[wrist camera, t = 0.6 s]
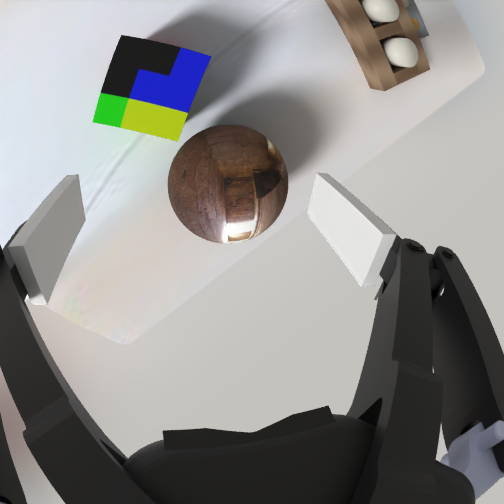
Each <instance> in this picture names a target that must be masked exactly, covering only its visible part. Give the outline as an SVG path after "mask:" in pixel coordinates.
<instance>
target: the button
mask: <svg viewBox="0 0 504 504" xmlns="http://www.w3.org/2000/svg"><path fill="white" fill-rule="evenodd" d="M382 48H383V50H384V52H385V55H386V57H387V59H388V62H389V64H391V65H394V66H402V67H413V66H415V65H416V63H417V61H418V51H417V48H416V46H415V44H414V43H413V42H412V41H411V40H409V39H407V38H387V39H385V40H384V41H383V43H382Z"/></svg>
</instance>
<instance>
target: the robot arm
mask: <svg viewBox="0 0 504 504" xmlns="http://www.w3.org/2000/svg"><path fill="white" fill-rule="evenodd" d="M307 215H308V217H309V218H310V219H311V220H312V222H313V223H314V224H315V226H316V227H317V228H318V229H319V231H320V232H321V233H322V235H323V236H324V237H325V239H326V240H327V241H328V242H329V244H330V245H331V246H332V248H333V249H334V250H335V252H336V253H337V254H338V256H339V257H340V258H341V260H342V261H343V263H344V264H345V265H346V267H347V268H348V269H349V271H350V272H351V273H352V275H353V276H354V278H355V279H356V281H357V282H358V283H359V285H360V286H361V287H368V286H374V285H375V283H376V281H377V279H378V277H379V275H380V276H381V277H382V279H383V283H382V285H381V287H380V289H379V291H378V293H377V295H376V297H375V300H377V298H378V297H379V298H378V303H377V309H376V314H375V319H374V323H373V329H372V333H371V337H370V342H369V346H368V350H367V354H366V358H365V362H364V366H363V370H362V373H361V377H360V380H359V383H358V387H357V390H356V394H355V397H354V400H353V403H352V406H351V408H350V410H349V412H348V413H347V415H346V416H345V415H335V414H332V413H331V410H330V408H329V406H325V407H321V408H317V409H314V410H310V411H306V412H302V413H297V414H293V415H291V416H289V417H286V418H285V419H282V420H280V421H278V422H276V423H274V424H272V425H270V426H267V427H265V428H263V429H261V430H258V431H256V432H251V433H248V432H247V433H246V432H234V431H225V430H216V429H208V428H203V429H189V430H167V431H163V437H164V440H160V441H157V442H154V443H152V444H149V445H147V446H145V447H143V448H141V449H140V450H138V451H137V452H136V453H134V454H133V455H131V456H130V457H129V458H127V457H126V456H125V455H124V454H123V453H122V452H121V451H120V450H119V449H118V448H117V447H116V446H115V445H114V444H113V443H112V442H111V441H110V440H109V438H108V437H107V436H106V435H105V434H104V432H103V431H102V430H101V429H100V427H99V426H98V425H97V424H96V423H95V421H94V420H93V419H92V418H91V416H90V415H89V413H88V412H87V410H86V409H85V408H84V407H83V405H82V404H81V402H80V401H79V399H78V398H77V397H76V395H75V394H74V392H73V390H72V389H71V387H70V386H69V384H68V383H67V381H66V380H65V378H64V377H63V375H62V373H61V371H60V370H59V368H58V367H57V365H56V363H55V361H54V360H53V358H52V356H51V354H50V353H49V351H48V349H47V347H46V345H45V343H44V341H43V339H42V337H41V335H40V333H39V331H38V329H37V327H36V325H35V323H34V321H33V319H32V316H31V314H30V312H29V310H28V307H27V306H26V303H25V301H24V300H25V298H26V295H27V294H28V296H29V298H30V300H31V302H32V304H33V305H47V304H48V302H49V299H50V296H51V294H52V291H53V289H54V286H55V284H56V281H57V279H58V277H59V274H60V272H61V270H62V267H63V265H64V263H65V261H66V258H67V256H68V254H69V252H70V250H71V248H72V246H73V244H74V242H75V240H76V238H77V236H78V234H79V232H80V230H81V228H82V226H83V224H84V222H85V220H86V219H85V214H84V208H83V202H82V196H81V190H80V182H79V175H78V174H77V175H68V176H66V177H65V178H64V179H63V180H62V181H61V182H60V183H59V184H58V185H57V186H56V187H55V188H54V189H53V191H52V192H51V193H50V194H49V195H48V196H47V197H46V199H45V200H44V201H43V202H42V203H41V204H40V206H39V207H38V208H37V209H36V210H35V212H34V213H33V214H32V215H31V217H30V218H29V219H28V220H27V221H25V222H24V223H23V224H22V225H20V226H19V228H18V229H17V230H16V232H15V234H13V236H12V237H11V239H10V240H9V241H8V242H7V244H6V245H5V247H4V248H3V250H2V248H1V246H0V367H1V369H2V372H3V375H4V377H5V380H6V383H7V385H8V388H9V390H10V393H11V395H12V397H13V400H14V402H15V404H16V406H17V409H18V411H19V413H20V415H21V417H22V419H23V421H24V423H25V426H26V430H25V431H23V437H24V439H25V441H26V444H27V446H28V447H29V449H30V451H31V453H32V454H33V456H34V458H35V459H36V461H37V463H38V465H39V466H40V468H41V469H42V471H43V472H44V474H45V476H46V477H47V479H48V480H49V482H50V483H51V484H52V486H53V487H54V489H55V490H56V491H57V493H58V494H59V495H60V497H61V498H62V499H63V501H64V502H65V503H66V504H475V500H476V499H477V498H479V497H480V496H481V495H482V494H484V493H485V492H486V491H487V490H488V489H489V488H490V487H491V486H493V485H494V484H495V483H496V482H497V481H498V480H499V479H500V478H502V477H504V354H503V351H502V348H501V346H500V343H499V341H498V338H497V336H496V333H495V331H494V328H493V326H492V324H491V321H490V319H489V317H488V314H487V312H486V310H485V308H484V306H483V304H482V301H481V299H480V297H479V295H478V293H477V291H476V289H475V287H474V286H473V284H472V282H471V280H470V278H469V276H468V274H467V273H466V271H465V269H464V267H463V265H462V264H461V262H460V260H459V258H458V257H457V256H456V254H455V253H453V251H452V250H451V249H449V248H445V247H442V246H438V247H437V249H436V251H435V253H434V255H433V254H428V253H427V252H426V250H425V248H424V247H423V246H422V245H420V244H419V243H418V242H416V241H414V240H411V239H406V238H405V239H401V238H400V237H399V236H398V235H397V234H396V233H395V232H394V231H393V230H392V229H391V228H389V227H388V225H386V223H384V222H383V221H382V220H381V219H380V218H379V217H378V216H376V215H375V214H374V213H373V212H372V211H371V210H370V209H369V208H368V207H367V206H365V205H364V204H363V203H362V202H361V201H360V200H359V199H357V198H356V197H355V196H354V195H353V194H352V193H350V192H349V191H348V190H347V189H346V188H344V187H343V186H342V185H341V184H340V183H338V182H337V181H336V180H335V179H334V178H332V177H331V176H330V175H329V174H325V173H316V176H315V181H314V186H313V190H312V195H311V199H310V204H309V208H308V212H307ZM443 288H444V292H443V294H442V296H441V295H440V293H441V292H442V290H443ZM433 369H434V373H433V371H432V370H433ZM441 423H442V430H443V435H444V440H445V445H446V448H447V451H448V454H445V455H444V456H443V457H442V459H441V462H439V461H437V460H435V459H436V454H437V447H438V441H439V433H440V425H441ZM0 504H27V502H26V498H25V495H24V492H23V489H22V486H21V484H20V481H19V478H18V475H17V472H16V469H15V467H14V463H13V460H12V457H11V454H10V451H9V447H8V444H7V440H6V436H5V432H4V428H3V423H2V419H1V414H0Z"/></svg>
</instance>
